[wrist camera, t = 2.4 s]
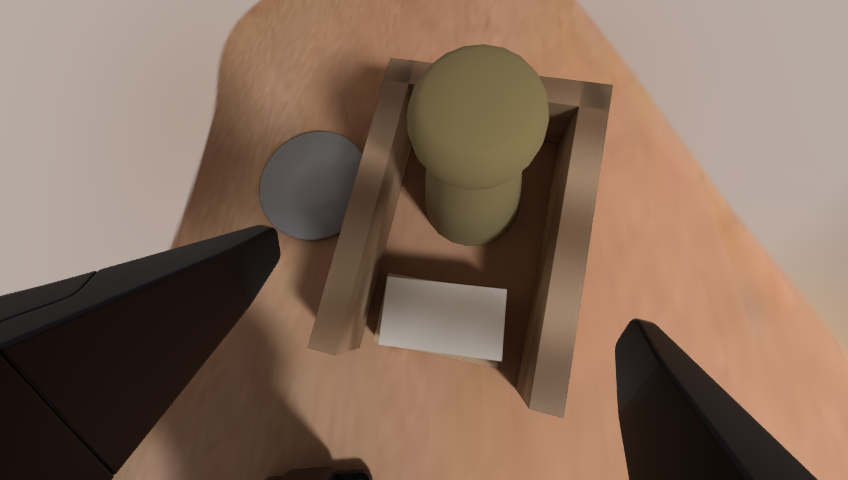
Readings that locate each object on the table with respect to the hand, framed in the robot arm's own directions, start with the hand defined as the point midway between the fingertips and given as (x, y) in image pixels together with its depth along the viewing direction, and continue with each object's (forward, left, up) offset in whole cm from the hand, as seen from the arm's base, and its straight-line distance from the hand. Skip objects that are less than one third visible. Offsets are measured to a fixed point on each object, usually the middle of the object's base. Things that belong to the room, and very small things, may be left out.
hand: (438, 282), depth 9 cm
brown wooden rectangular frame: (+4, -1, -12) cm, 13 cm away
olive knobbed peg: (+6, -2, -13) cm, 14 cm away
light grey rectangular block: (-1, +1, -13) cm, 13 cm away
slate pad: (+9, +8, -12) cm, 17 cm away
